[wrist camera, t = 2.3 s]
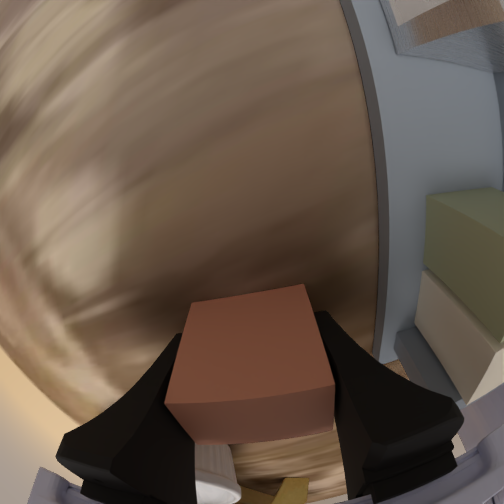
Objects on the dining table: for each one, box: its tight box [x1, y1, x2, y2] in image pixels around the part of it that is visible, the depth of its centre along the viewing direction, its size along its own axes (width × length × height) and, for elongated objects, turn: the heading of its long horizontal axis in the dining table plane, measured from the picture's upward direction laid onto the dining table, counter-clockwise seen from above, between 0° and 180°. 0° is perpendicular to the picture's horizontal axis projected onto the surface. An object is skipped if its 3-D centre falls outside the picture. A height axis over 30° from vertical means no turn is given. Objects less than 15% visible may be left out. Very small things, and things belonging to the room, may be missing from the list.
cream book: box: [414, 269, 504, 405], centre depth 8 cm, size 3×4×6 cm
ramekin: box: [195, 443, 241, 504], centre depth 16 cm, size 11×11×5 cm
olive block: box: [423, 187, 504, 343], centre depth 7 cm, size 3×4×6 cm
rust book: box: [164, 284, 335, 445], centre depth 10 cm, size 3×5×6 cm, turn 101°
